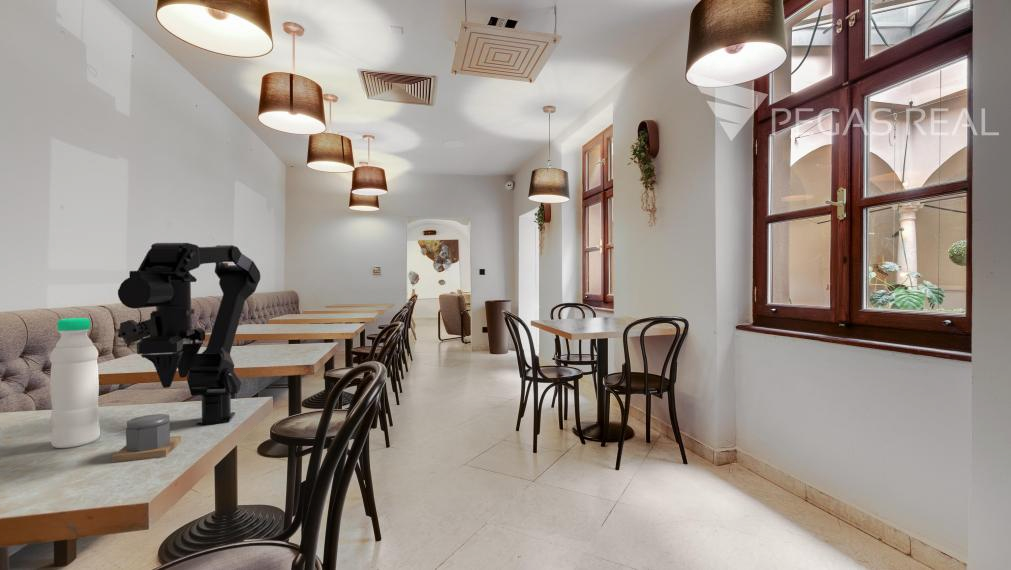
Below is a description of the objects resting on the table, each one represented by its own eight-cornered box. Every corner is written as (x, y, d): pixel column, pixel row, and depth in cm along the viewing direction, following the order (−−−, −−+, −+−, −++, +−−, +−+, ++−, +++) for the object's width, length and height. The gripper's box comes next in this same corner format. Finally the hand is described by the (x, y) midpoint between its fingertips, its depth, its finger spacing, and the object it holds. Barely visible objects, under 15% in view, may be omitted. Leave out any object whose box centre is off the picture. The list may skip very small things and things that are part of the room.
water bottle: (70, 450, 87) (67, 320, 87) (41, 447, 88) (39, 319, 88) (108, 437, 94) (106, 317, 94) (81, 435, 95) (79, 316, 95)
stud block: (132, 446, 89) (132, 423, 89) (180, 441, 91) (180, 418, 91) (112, 462, 81) (112, 436, 81) (166, 456, 84) (165, 431, 84)
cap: (125, 454, 82) (125, 426, 82) (128, 444, 87) (127, 418, 87) (169, 446, 86) (169, 420, 85) (169, 437, 91) (169, 412, 91)
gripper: (145, 303, 98) (146, 375, 98) (100, 309, 80) (102, 397, 80) (205, 302, 101) (206, 371, 102) (175, 307, 84) (176, 392, 84)
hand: (175, 382), depth 92 cm, fingers open, 9 cm apart
